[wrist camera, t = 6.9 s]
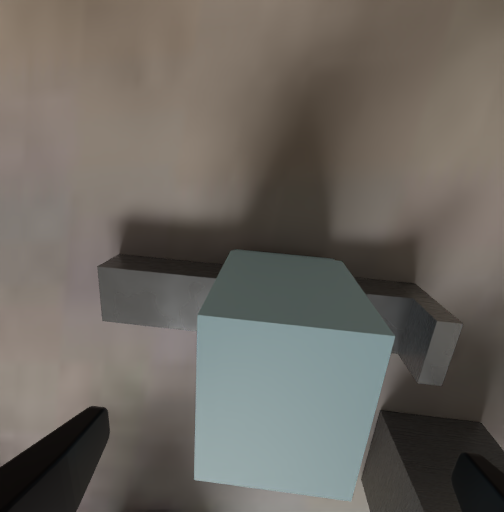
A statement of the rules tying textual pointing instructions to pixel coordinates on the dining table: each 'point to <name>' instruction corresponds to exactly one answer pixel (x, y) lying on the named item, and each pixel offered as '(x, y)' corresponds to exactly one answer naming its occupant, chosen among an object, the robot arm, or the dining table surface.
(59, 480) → the robot arm
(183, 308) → the rail
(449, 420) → the grey hollow box
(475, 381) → the dining table surface
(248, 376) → the grey block
